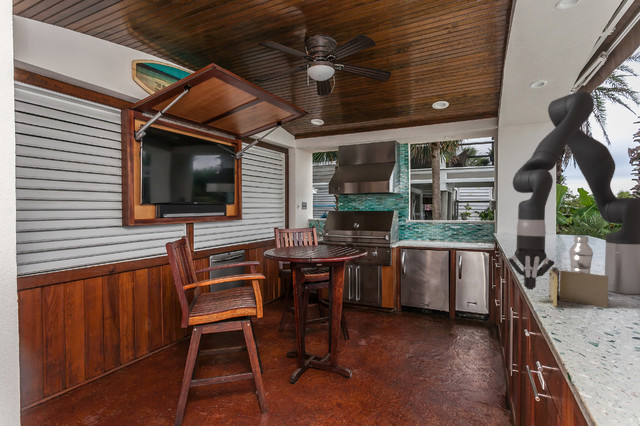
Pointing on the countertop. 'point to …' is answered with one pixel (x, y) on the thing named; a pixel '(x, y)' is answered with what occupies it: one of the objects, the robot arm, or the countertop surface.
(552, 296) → the plate
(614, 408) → the countertop surface
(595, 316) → the countertop surface
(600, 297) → the hinge mount
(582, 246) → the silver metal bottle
